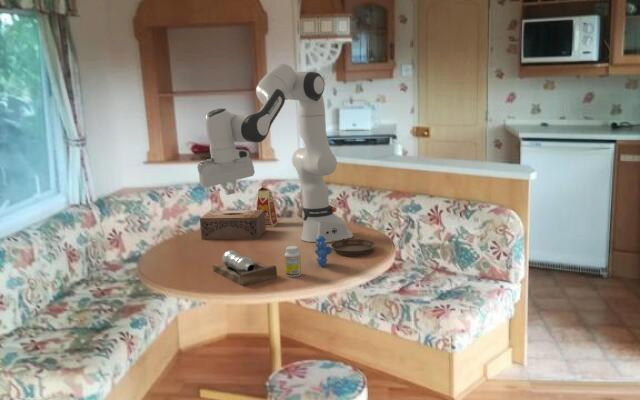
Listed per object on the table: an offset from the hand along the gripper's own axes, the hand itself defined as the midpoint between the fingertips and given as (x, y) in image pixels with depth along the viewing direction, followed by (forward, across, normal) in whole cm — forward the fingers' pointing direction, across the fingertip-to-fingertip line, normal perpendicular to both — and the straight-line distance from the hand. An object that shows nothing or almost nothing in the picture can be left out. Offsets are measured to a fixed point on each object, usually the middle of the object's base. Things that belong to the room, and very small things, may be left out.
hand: (230, 194), depth 223 cm
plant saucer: (+34, +45, -6) cm, 57 cm away
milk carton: (+31, +41, +58) cm, 78 cm away
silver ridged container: (+26, -1, +10) cm, 28 cm away
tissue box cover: (+30, +21, +52) cm, 63 cm away
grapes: (+33, +26, -14) cm, 44 cm away
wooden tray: (+30, -1, -2) cm, 30 cm away
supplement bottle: (+31, +12, -15) cm, 37 cm away
